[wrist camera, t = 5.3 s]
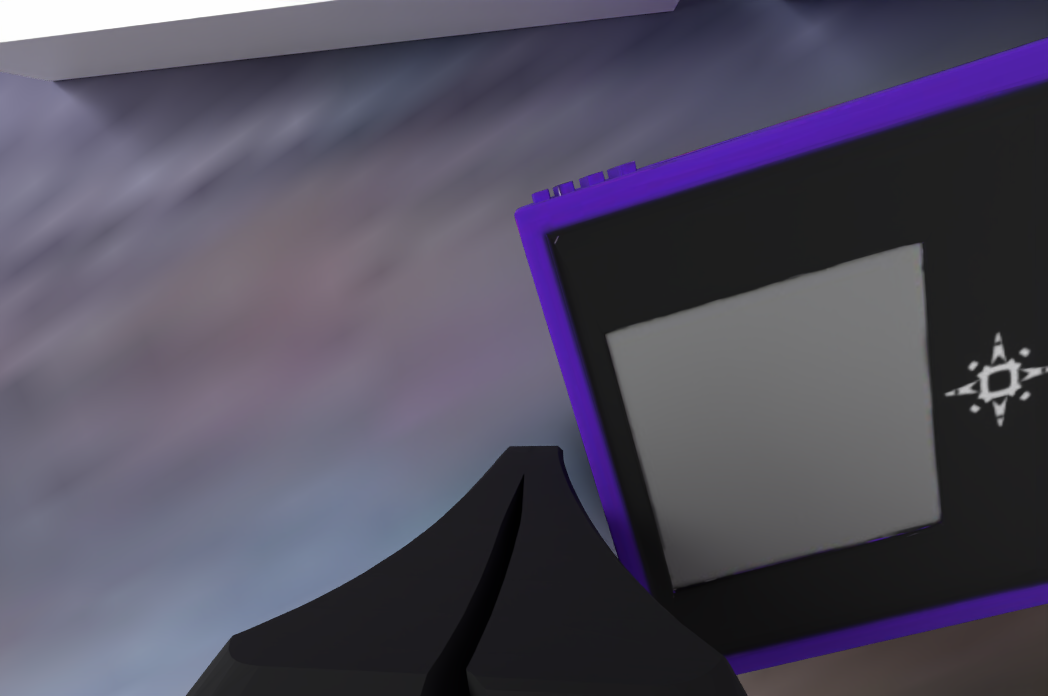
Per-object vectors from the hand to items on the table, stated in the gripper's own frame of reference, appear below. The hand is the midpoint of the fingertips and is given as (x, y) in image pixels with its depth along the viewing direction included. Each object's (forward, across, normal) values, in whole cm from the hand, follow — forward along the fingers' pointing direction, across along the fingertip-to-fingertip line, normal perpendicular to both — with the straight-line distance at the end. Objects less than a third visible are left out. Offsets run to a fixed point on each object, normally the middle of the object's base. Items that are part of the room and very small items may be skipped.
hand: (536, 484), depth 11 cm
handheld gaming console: (+2, -8, -3) cm, 9 cm away
